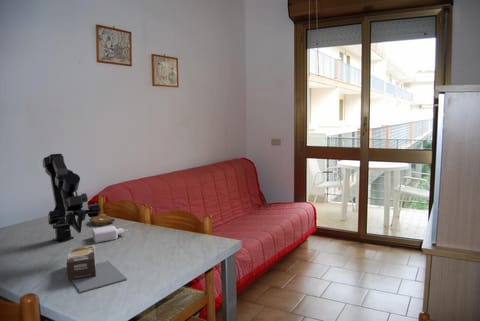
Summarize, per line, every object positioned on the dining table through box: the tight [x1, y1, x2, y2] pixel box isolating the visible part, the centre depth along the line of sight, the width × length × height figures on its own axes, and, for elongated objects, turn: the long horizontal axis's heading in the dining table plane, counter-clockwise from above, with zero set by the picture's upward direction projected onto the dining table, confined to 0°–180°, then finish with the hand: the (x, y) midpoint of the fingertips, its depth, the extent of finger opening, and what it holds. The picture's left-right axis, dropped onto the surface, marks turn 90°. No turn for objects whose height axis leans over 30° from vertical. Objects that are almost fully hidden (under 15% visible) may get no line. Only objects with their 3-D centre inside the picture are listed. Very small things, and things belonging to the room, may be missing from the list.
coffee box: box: [66, 244, 97, 281], centre depth 134 cm, size 9×6×16 cm
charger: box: [91, 225, 129, 244], centre depth 172 cm, size 5×9×15 cm
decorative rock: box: [89, 213, 115, 227], centre depth 197 cm, size 11×4×15 cm
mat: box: [65, 260, 128, 294], centre depth 130 cm, size 20×15×1 cm
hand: (79, 232), depth 144 cm, fingers closed
